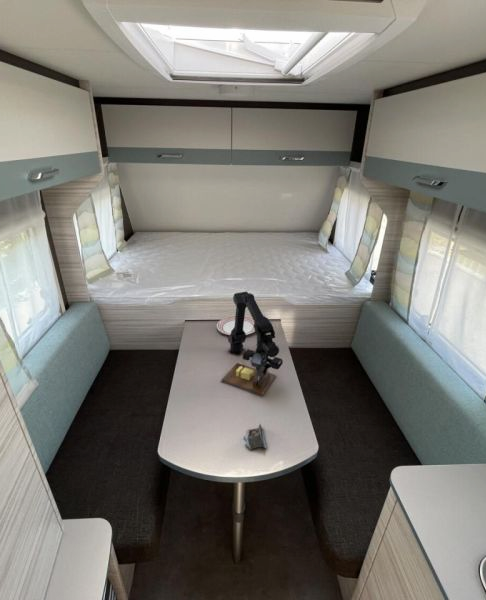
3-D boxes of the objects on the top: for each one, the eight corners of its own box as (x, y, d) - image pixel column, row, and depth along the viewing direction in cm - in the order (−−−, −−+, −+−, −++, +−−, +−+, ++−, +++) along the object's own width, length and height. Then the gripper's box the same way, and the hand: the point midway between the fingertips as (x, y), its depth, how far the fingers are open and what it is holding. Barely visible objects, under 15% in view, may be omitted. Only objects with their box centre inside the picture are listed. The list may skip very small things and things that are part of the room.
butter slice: (235, 375, 164) (235, 370, 163) (240, 371, 168) (240, 365, 166) (238, 376, 163) (238, 371, 162) (242, 371, 167) (242, 366, 166)
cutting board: (221, 381, 162) (221, 375, 160) (237, 365, 175) (237, 358, 173) (262, 395, 153) (262, 388, 151) (275, 377, 166) (275, 370, 164)
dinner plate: (219, 341, 198) (218, 336, 197) (215, 320, 223) (215, 316, 221) (263, 337, 202) (263, 332, 201) (254, 318, 227) (254, 313, 225)
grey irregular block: (244, 427, 135) (240, 428, 124) (260, 423, 135) (258, 423, 124) (250, 452, 131) (247, 454, 120) (267, 447, 131) (265, 449, 120)
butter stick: (240, 377, 163) (240, 372, 162) (244, 372, 167) (244, 367, 165) (249, 380, 161) (249, 375, 159) (253, 375, 164) (253, 370, 163)
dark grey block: (255, 384, 158) (255, 371, 154) (262, 375, 164) (262, 362, 161) (260, 386, 156) (261, 372, 153) (267, 377, 163) (268, 364, 160)
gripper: (237, 349, 150) (237, 376, 156) (274, 360, 142) (273, 389, 148) (247, 338, 159) (247, 365, 165) (283, 348, 151) (282, 375, 157)
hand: (261, 373), depth 158 cm, fingers closed on dark grey block, 3 cm apart
